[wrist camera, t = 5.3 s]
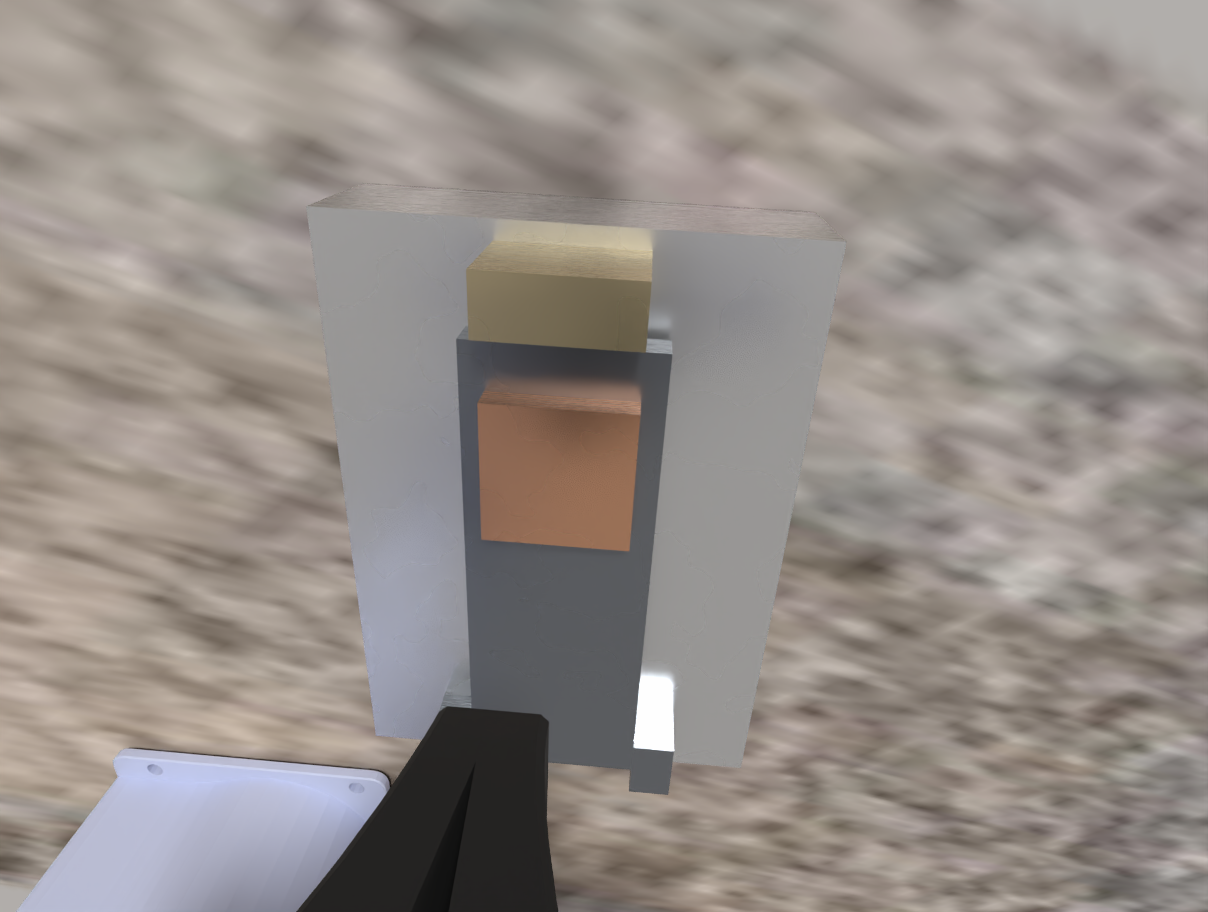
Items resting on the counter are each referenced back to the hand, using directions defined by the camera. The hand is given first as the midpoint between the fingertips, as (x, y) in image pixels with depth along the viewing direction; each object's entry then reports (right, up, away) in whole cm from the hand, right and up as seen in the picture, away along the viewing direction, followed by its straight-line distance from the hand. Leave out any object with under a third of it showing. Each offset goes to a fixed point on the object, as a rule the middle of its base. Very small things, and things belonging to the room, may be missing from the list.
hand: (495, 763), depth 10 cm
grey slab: (0, +2, +7) cm, 7 cm away
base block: (+1, +4, +10) cm, 10 cm away
